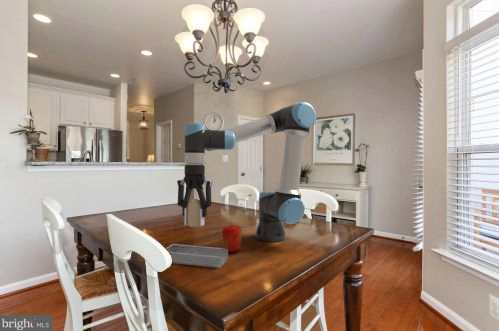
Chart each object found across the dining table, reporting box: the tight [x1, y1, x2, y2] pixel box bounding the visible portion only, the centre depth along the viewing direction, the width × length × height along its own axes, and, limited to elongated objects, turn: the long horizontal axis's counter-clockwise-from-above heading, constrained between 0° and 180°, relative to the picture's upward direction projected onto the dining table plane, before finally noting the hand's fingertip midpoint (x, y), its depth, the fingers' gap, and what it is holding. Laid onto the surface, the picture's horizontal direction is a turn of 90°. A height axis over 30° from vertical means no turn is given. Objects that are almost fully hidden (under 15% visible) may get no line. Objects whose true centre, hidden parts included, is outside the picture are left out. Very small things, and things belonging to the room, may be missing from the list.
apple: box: [221, 223, 243, 253], centre depth 108 cm, size 9×8×12 cm
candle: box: [187, 198, 202, 228], centre depth 98 cm, size 6×6×10 cm
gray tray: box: [164, 243, 229, 269], centre depth 98 cm, size 24×10×4 cm, turn 77°
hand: (194, 224), depth 97 cm, fingers closed on candle, 5 cm apart
